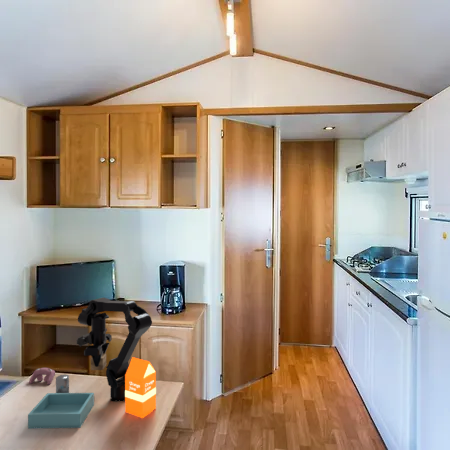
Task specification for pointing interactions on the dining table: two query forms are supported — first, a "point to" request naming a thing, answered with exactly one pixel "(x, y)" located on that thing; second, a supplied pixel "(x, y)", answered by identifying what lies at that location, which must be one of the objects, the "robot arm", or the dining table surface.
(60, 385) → the steel cylinder
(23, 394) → the dining table surface
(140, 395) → the orange juice
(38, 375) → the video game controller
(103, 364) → the walnut cube
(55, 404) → the tote
